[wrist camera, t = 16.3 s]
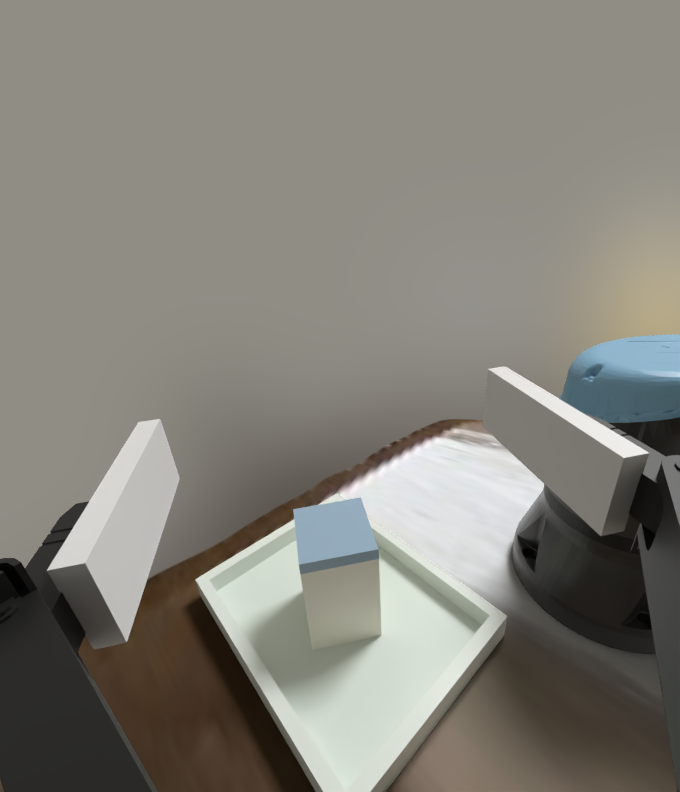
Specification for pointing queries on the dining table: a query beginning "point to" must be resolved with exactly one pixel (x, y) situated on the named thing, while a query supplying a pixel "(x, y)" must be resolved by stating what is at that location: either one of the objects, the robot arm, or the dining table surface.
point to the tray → (352, 657)
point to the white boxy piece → (338, 572)
